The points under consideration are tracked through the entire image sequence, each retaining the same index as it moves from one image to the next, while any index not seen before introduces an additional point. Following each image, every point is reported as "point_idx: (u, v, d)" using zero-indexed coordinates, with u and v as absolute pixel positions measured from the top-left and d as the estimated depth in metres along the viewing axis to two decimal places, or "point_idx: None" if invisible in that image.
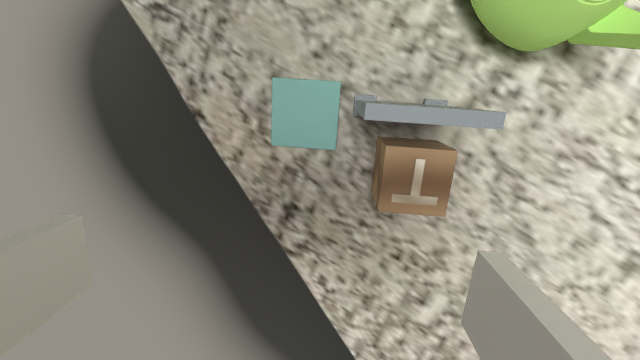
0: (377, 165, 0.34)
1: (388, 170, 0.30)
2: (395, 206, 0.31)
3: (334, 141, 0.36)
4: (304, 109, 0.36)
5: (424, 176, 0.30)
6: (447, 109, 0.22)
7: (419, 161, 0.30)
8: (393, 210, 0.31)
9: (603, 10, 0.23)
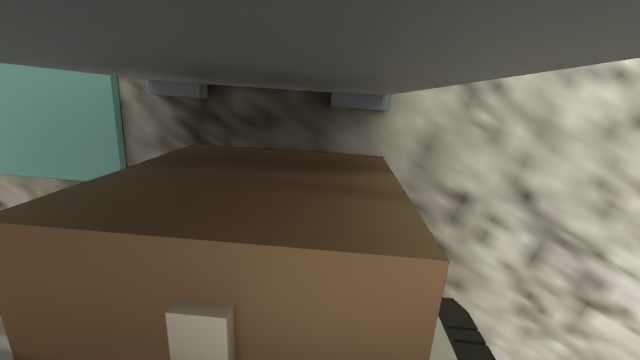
0: None
1: (42, 355, 0.05)
2: None
3: (115, 162, 0.14)
4: (24, 78, 0.13)
5: None
6: None
7: (190, 327, 0.04)
8: None
9: None
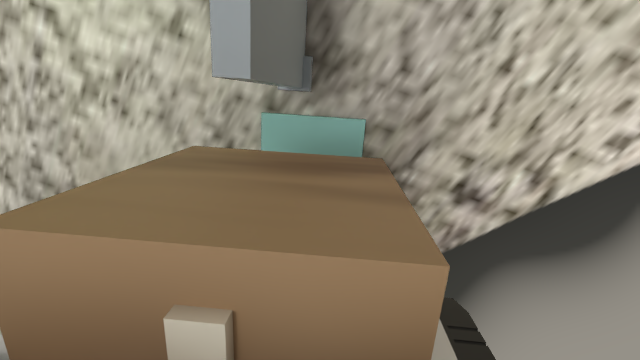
0: None
1: None
2: None
3: (351, 121, 0.23)
4: None
5: None
6: None
7: (188, 333, 0.04)
8: None
9: None
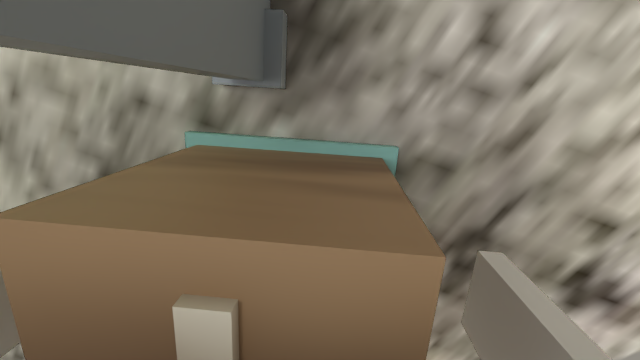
0: None
1: (51, 349, 0.05)
2: None
3: (369, 151, 0.11)
4: None
5: None
6: None
7: (196, 321, 0.05)
8: None
9: None
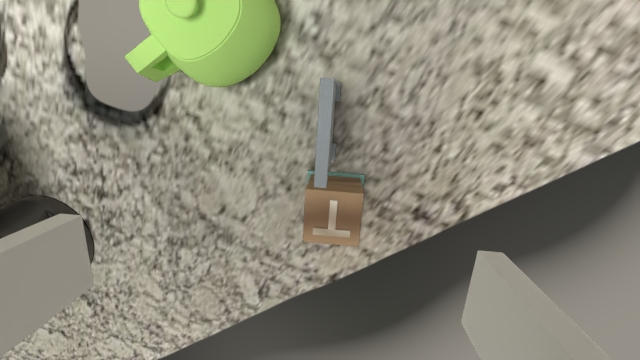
0: None
1: (309, 208, 0.36)
2: (317, 237, 0.38)
3: (356, 176, 0.42)
4: None
5: (338, 214, 0.36)
6: (318, 125, 0.27)
7: (332, 202, 0.36)
8: (315, 241, 0.38)
9: None
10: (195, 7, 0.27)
